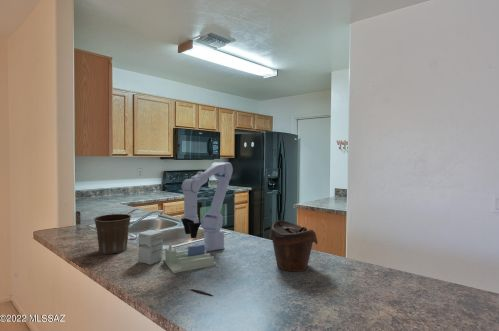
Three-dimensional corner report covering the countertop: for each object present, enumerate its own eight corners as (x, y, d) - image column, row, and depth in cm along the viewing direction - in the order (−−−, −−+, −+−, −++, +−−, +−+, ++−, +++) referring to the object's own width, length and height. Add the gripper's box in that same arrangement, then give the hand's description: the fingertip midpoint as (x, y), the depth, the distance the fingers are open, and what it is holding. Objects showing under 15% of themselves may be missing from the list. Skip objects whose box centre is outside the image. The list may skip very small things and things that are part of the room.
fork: (210, 298, 93) (210, 292, 93) (173, 288, 100) (173, 282, 100) (215, 295, 95) (215, 289, 95) (178, 285, 103) (178, 279, 103)
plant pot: (121, 256, 131) (121, 221, 130) (86, 255, 131) (86, 220, 130) (136, 245, 147) (136, 214, 146) (105, 245, 147) (105, 213, 147)
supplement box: (137, 262, 124) (137, 232, 124) (151, 257, 130) (151, 229, 130) (150, 265, 120) (150, 235, 120) (163, 259, 127) (163, 231, 127)
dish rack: (202, 254, 135) (202, 236, 135) (216, 265, 121) (216, 245, 121) (163, 260, 126) (163, 241, 126) (173, 273, 112) (173, 251, 112)
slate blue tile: (203, 257, 128) (203, 244, 127) (204, 258, 126) (204, 245, 126) (187, 260, 124) (187, 246, 124) (188, 261, 123) (189, 247, 123)
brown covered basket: (318, 276, 110) (318, 229, 110) (266, 272, 114) (266, 227, 114) (316, 261, 128) (317, 220, 128) (271, 258, 132) (272, 218, 132)
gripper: (177, 204, 134) (177, 233, 134) (187, 209, 121) (187, 241, 122) (191, 203, 137) (191, 231, 138) (203, 207, 125) (203, 238, 125)
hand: (190, 235), depth 130 cm, fingers open, 7 cm apart
